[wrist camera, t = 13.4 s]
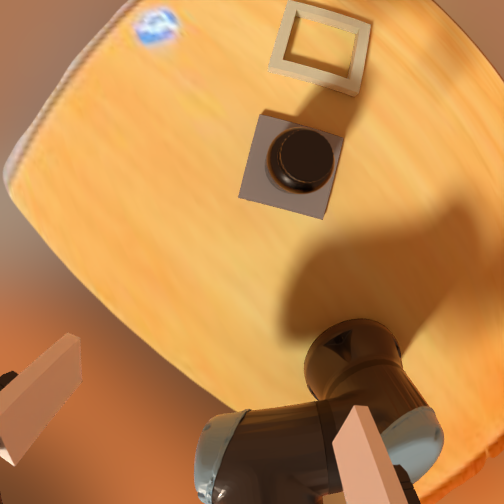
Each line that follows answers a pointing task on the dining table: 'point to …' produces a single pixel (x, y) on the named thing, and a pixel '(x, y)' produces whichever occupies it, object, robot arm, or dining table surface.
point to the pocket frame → (313, 74)
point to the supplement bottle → (299, 161)
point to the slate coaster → (259, 185)
